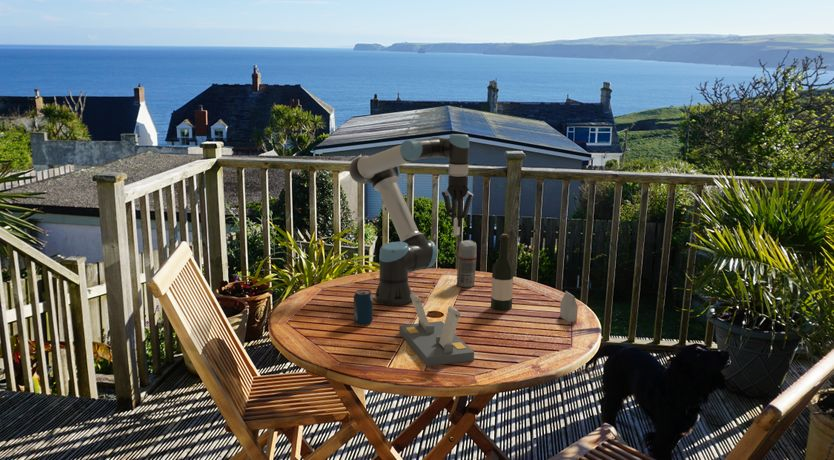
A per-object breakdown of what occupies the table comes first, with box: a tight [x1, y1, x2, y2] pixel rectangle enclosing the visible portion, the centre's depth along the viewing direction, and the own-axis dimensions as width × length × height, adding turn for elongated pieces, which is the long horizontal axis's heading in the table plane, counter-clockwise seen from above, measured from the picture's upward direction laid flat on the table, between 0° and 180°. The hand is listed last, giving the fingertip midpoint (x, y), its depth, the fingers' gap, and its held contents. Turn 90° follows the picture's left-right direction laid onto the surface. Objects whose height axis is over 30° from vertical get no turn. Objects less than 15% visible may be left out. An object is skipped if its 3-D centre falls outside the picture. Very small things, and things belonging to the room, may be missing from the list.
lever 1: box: [410, 292, 429, 330], centre depth 236 cm, size 2×6×13 cm, turn 18°
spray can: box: [456, 239, 478, 288], centre depth 299 cm, size 8×8×20 cm
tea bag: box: [559, 290, 579, 323], centre depth 259 cm, size 4×7×10 cm, turn 14°
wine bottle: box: [490, 233, 515, 312], centre depth 269 cm, size 8×8×30 cm
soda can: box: [353, 289, 374, 326], centre depth 251 cm, size 7×7×12 cm
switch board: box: [398, 320, 475, 367], centre depth 230 cm, size 16×30×6 cm, turn 18°
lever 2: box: [439, 305, 461, 348], centre depth 221 cm, size 2×6×13 cm, turn 19°
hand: (456, 234), depth 266 cm, fingers closed
